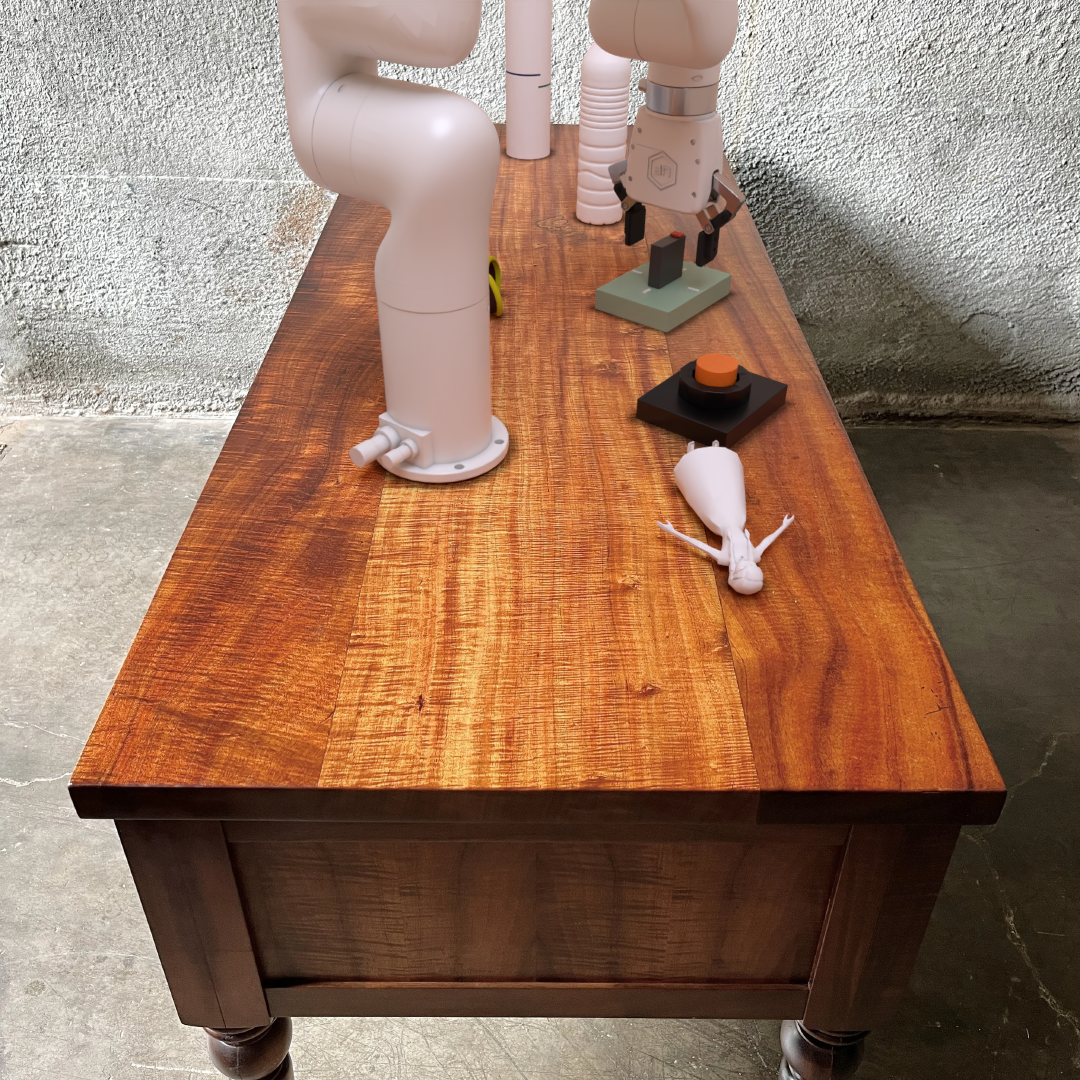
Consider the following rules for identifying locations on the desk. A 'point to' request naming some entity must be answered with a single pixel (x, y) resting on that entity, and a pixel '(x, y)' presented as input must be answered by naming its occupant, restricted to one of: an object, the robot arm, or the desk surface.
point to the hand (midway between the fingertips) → (668, 252)
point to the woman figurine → (722, 512)
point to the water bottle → (601, 134)
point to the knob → (666, 260)
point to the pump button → (716, 370)
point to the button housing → (711, 406)
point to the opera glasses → (495, 287)
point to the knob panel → (662, 296)
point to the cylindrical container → (528, 77)
